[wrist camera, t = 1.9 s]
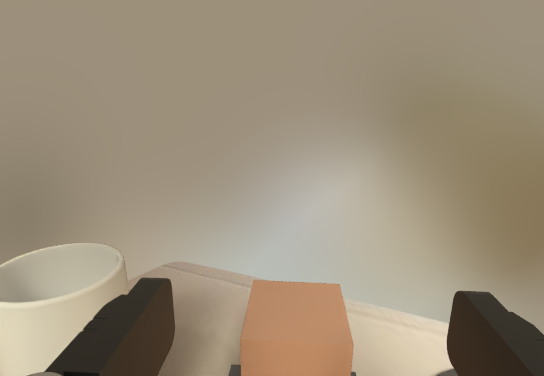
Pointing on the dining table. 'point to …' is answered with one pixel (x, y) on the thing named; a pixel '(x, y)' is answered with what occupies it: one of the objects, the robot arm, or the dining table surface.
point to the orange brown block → (296, 331)
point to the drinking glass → (53, 301)
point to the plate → (449, 373)
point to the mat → (236, 371)
